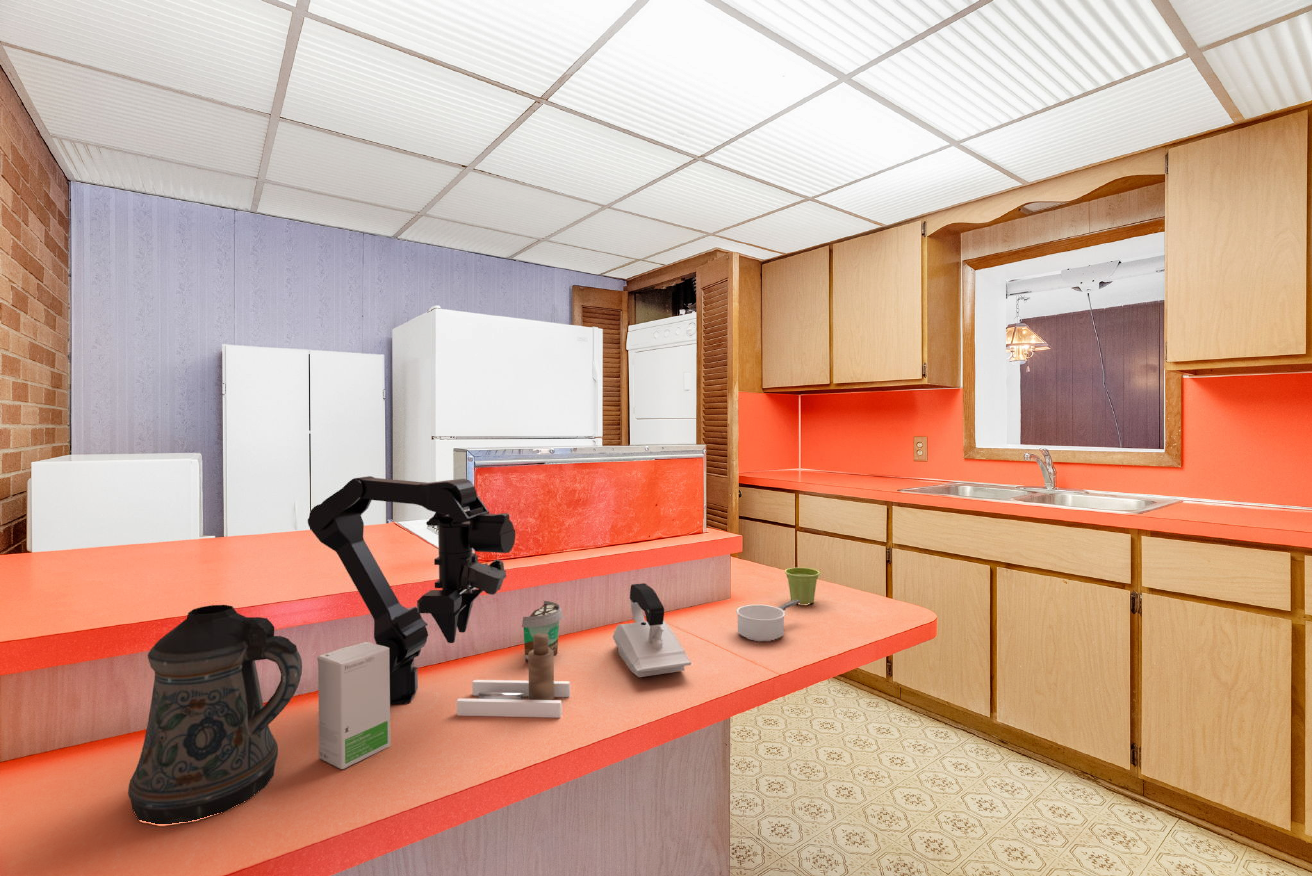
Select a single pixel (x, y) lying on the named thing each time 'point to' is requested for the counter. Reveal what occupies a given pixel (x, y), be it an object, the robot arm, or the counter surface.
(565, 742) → the counter surface
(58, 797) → the counter surface
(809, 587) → the plant pot
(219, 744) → the beer stein
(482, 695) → the rod
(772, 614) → the saucepan
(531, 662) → the walnut skittle
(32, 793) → the counter surface
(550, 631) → the food container
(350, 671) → the skincare box
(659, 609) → the iron
